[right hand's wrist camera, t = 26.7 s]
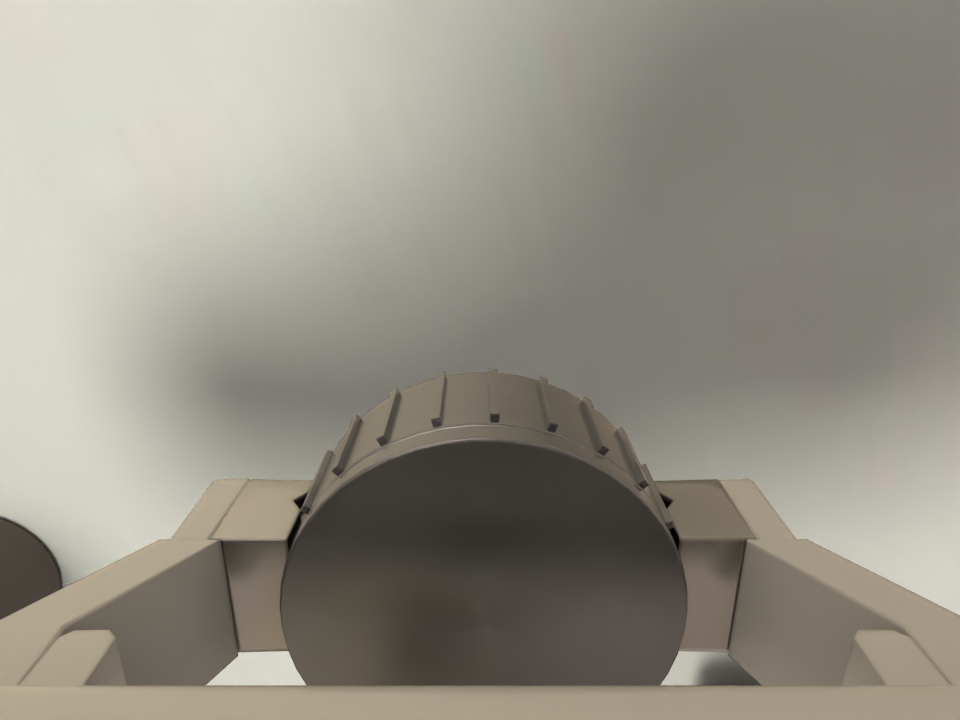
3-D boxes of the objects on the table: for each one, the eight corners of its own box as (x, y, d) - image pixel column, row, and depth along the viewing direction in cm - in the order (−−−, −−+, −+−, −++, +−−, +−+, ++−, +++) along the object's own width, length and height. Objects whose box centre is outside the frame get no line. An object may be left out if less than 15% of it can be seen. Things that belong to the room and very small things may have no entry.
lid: (493, 708, 12) (496, 828, 10) (242, 535, 10) (187, 634, 8) (724, 515, 10) (782, 609, 8) (467, 290, 9) (464, 340, 7)
